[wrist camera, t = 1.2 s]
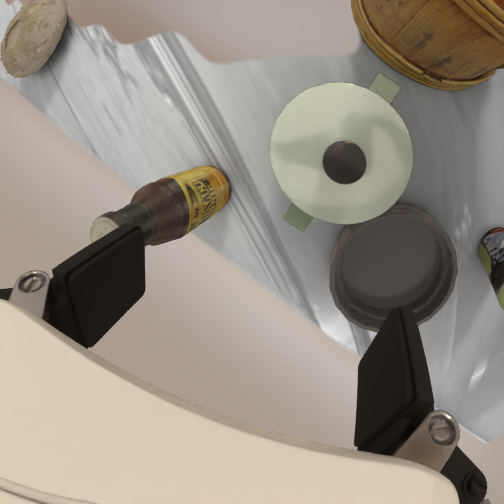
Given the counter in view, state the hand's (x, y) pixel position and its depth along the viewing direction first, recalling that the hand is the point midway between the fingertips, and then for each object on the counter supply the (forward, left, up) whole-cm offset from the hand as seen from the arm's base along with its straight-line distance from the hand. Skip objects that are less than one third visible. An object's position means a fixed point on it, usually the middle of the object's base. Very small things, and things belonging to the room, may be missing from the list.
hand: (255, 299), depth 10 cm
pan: (-15, +4, -26) cm, 30 cm away
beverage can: (-26, -7, -26) cm, 38 cm away
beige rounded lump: (+56, -2, -26) cm, 62 cm away
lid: (-1, -4, -18) cm, 18 cm away
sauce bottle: (+10, +9, -26) cm, 29 cm away
